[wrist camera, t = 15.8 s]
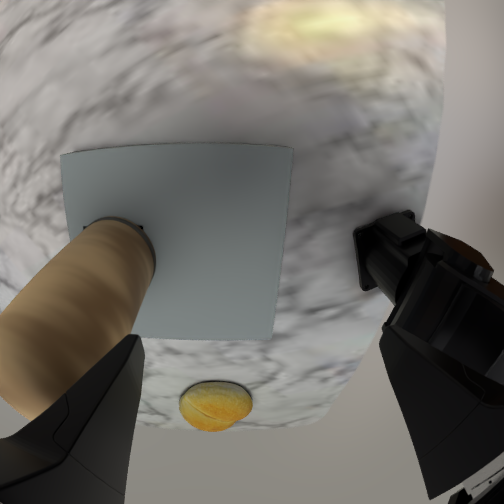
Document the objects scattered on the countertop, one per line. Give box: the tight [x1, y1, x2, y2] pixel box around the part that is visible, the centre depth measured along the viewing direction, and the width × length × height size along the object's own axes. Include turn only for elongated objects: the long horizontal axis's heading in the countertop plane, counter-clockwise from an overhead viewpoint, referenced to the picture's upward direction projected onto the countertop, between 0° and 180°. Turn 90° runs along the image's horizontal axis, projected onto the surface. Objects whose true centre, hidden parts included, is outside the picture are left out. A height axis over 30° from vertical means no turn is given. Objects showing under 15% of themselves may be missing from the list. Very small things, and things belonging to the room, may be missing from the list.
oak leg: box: [0, 216, 156, 421], centre depth 13 cm, size 6×6×15 cm
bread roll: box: [179, 382, 253, 432], centre depth 28 cm, size 8×9×4 cm
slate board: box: [60, 143, 294, 340], centre depth 20 cm, size 16×16×2 cm
